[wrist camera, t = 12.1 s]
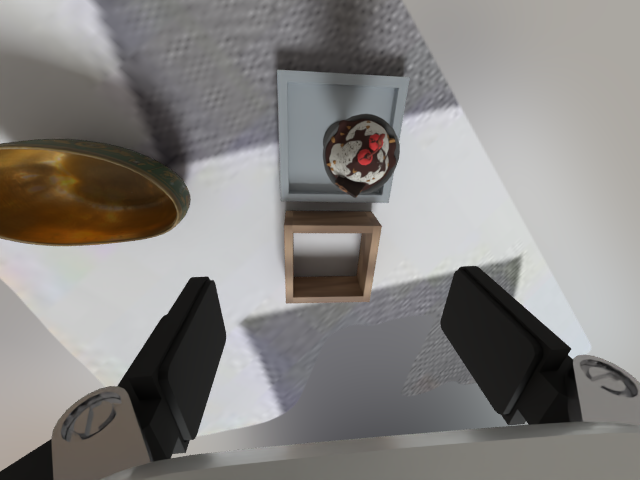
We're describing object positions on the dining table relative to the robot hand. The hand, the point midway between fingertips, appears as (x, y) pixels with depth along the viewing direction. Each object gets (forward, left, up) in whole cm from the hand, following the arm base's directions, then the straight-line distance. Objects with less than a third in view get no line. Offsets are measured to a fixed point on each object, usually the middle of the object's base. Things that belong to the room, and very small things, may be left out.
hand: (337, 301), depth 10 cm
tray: (-3, +3, -26) cm, 26 cm away
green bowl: (+2, -24, -26) cm, 36 cm away
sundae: (-3, +4, -25) cm, 26 cm away
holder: (+12, +3, -26) cm, 29 cm away
